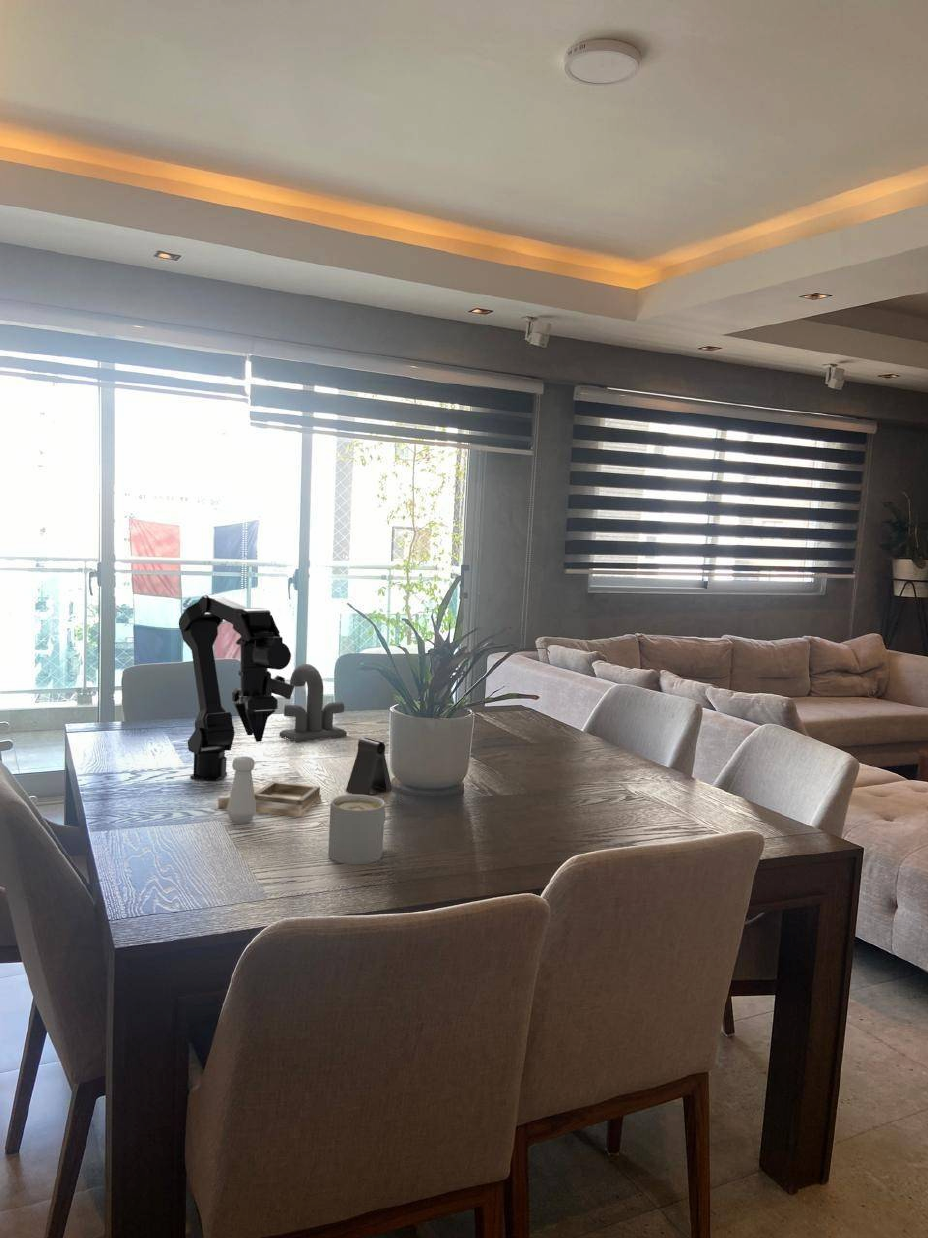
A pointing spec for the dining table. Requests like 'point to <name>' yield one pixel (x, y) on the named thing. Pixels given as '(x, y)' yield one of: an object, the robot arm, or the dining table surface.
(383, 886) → the dining table surface
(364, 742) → the dark brown phone stand
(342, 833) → the coffee mug
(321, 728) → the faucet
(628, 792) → the dining table surface
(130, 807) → the dining table surface
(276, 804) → the wooden tray
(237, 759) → the salt shaker
